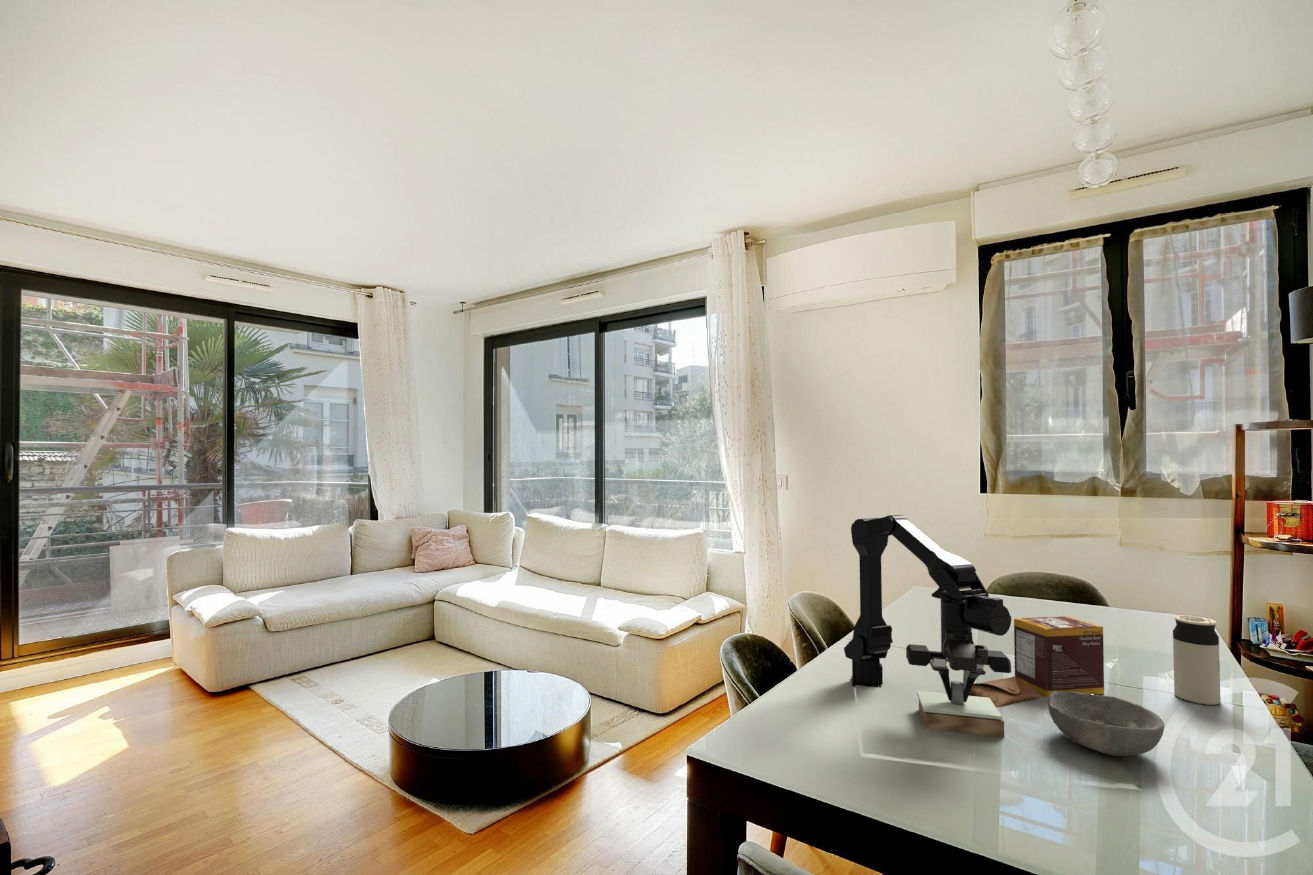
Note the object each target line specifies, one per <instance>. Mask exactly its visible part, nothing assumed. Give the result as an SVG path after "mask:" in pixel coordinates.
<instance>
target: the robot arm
mask: <svg viewBox="0 0 1313 875" xmlns="http://www.w3.org/2000/svg"><path fill="white" fill-rule="evenodd" d="M850 534H851V539H852V540H851V542H852V545H853V547H854V549H855V550H856V553H857V554H858V556H859V557H858V558H859V562H858V563H859V612H860V613H859V616H858V619H857V620H856V622H855V625H854V626H853V631H852V632H853V633H852V639H851V640H850V641H848V643H847V644H846V645H845V646H844V647H843V651H844V655H845V658H847V659H849V660H851V676H850V677H851V679H850V680H851V686H852V687H856V686H862V687H872V688H882V685H883V683H884V682H883V681H884V680H883V679H884V678H883V675H884V674H883V670H884V669H883V667H884V666H883V665H882V663H881V660H880V659H886V658H887V656H888V653H889V652H888V651H889V650H890V649H891V646H892V644H893V643H894V641H893V636H892V633H893V627H892V625H890V624H887V622H886V620H885V619H884V617H883V592H882V591H883V590H882V589H883V588H882V586H883V585H882V584H883V582H882V555H883V554H884V552H885V550H886V548H887V546H888V543H889V536H892V537H893V538H895V539H896V540H897V541H898V542H899V543H900V544H902V545H903V546H904V548H906V549H907V550H909V552H911V554H913V555H914V556H915V557H916V558H917V559H919V561H920V562H922V563H923V564H924V565H925V566H926V569H927V572H928V575H929V577H930V578H931V579H932V580H933V581H934V583H935V585H937V586H938V588H937V590H935V591H934V592H932V593H931V597H932V598H936V599H939V600H940V651H936V650H929V649H928V646H927V645H924V644H922V645H921V644H911V643H910V644H907V646H906V648H905V655H906V656H905V657H906V660H907V662H908V665H912V666H917V667H918V666H921V667H927V666H928V665H930V667H931V669H932V670H933V671H935V672H938V675H939V677H940V679H941V682H942V684H943V687H944V690H945V694H947V697H948V699H949V701H951V681H950V669H951V670H953V671H956V672H958V671H963V674H962V676H963V677H962V683H963V684H964V702H966V701H967V699H968V696H969V694H970V691H971V688H972V686H973V684H974V683H975V682H976V680H977V679H978V678H979V677H980V676H985V675H986V671H985V669H984V668H985V666H988V667H989V669H991V671H993V672H994V673H1003V674H1011V673H1012V663H1011V662H1012V661H1011V659H1010V658H1009V657H1008V656H1007V655H1006V654H1005V653H1004V652H1003V651H1002V650H991V649H990V650H988V647H987V645H983V644H975V643H974V639H973V630H978V631H980V632H984V633H988V634H991V635H995V636H998V637H999V636H1000V637H1002V636H1004V635H1006V634H1007V633H1008V631H1009V630H1010V628H1011V625H1012V616H1011V614H1010V611H1009V609H1008V608H1007V607H1006V606H1005V605H1004V600H1003V599H1002V598H999V597H990V595H989V593H988V590H987V589H986V588H985V586H984V584H983V582H982V581H981V579H980V577H979V576H978V574H977V573H976V572H977V571H976V570H977V569H976V568H975V565H973V564H972V563H971V562H970V561H968V560H966V559H965V558H963V557H961V556H959V555H956V554H955V553H954V554H953V553H952V552H948V551H947V550H945V549H943V548H941V547H940V546H939V545H938V544H937V543H935V542H934V541H933V540H932V539H931V538H930V537H928V536H927V535H926V534H924V533H923V532H922V531H921V530H920V529H918V527H916V526H915V525H914V524H913V523H911V522H910V521H909V518H908V517H907V516H905V515H903V514H893V515H892V514H891V515H886V516H884V517H873V518H857V519H855V520H854V522H853V523H852V524H851V526H850ZM947 663H948V666H949V668H950V669H949V668H948V666H947Z"/></svg>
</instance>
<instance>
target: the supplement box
mask: <svg viewBox="0 0 1313 875" xmlns="http://www.w3.org/2000/svg"><path fill="white" fill-rule="evenodd" d="M1013 639H1014V640H1013V646H1014V676H1016V675H1018V678H1019V679H1021V680H1022V681H1023V682H1025V683H1026V684H1027V685H1029V686H1030V687H1031V688H1032V689H1034V690H1035V691H1036V692H1037V693H1039V694H1040V695H1042V696H1043V697H1047V698H1048V697H1049V695H1050V694H1051V693H1052V692H1054V691H1058V692H1059V691H1062V692H1078V693H1085V694H1101V695H1105V668H1104V667H1105V666H1104V665H1105V661H1104V660H1105V659H1104V657H1105V656H1104V626H1100V625H1097V624H1095V623H1090V622H1087V621H1084V620H1082V619H1081V620H1080V619H1078V618H1075V617H1072V616H1068V615H1066V616H1064V615H1063V616H1047V617H1045V616H1043V617H1041V616H1039V617H1021V618H1019V617H1017V618H1014V619H1013Z"/></svg>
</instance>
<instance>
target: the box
mask: <svg viewBox="0 0 1313 875" xmlns="http://www.w3.org/2000/svg"><path fill="white" fill-rule="evenodd" d="M918 711H919V714H920V716H921V720H922V721H923V724H924V727H925V728H924V729H925V730H934V731H941V732H951V733H959V734H960V733H961V734H970V735H977V736H986V737H996V738H1005V721H1004V719H1003V718H1002V720H1001V719H991V718H981V717H972V716H962V715H952V714H943V713H933V712H924V711H923V708H922V706H921V703H920V700H919V699H918Z"/></svg>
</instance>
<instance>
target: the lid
mask: <svg viewBox="0 0 1313 875" xmlns="http://www.w3.org/2000/svg"><path fill="white" fill-rule="evenodd" d="M950 688H951V701H949V699H948V697H947V694H946V692H943V693H942V692H934V691H933V692H931V691H922V690H916V695H917V697H918V701H919V700H920V703H921V706H922V708H923V711H924V712H933V713H943V714H952V715H962V716H972V717H981V718H991V719H1001V720H1002V719H1003V716H1002V714H1001V713H1000V712H999V710H998V709H997V708H998V707H995V705H994V704H993V702H992V701H991V700H990V698H987V697H976V696H968V699H967V701H966V702H964V684H963V681H957V680H952V681H950Z"/></svg>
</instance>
